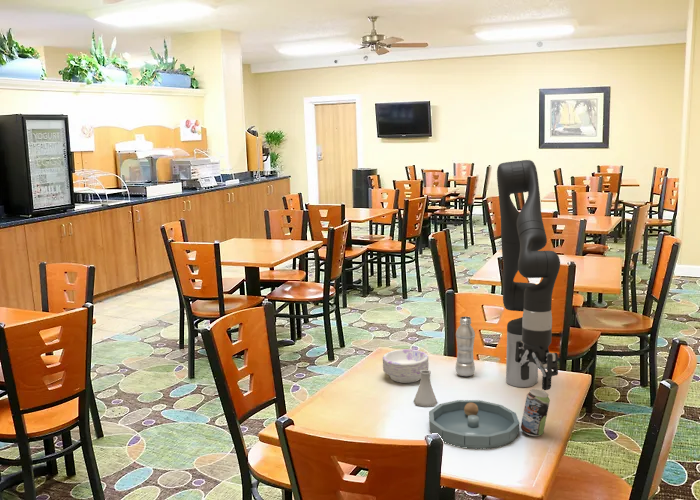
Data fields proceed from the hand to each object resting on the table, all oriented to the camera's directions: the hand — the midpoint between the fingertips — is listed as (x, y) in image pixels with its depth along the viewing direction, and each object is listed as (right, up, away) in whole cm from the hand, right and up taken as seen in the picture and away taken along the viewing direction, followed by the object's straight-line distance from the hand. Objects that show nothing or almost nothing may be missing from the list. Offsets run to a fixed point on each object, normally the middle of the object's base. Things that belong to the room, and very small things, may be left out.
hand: (535, 384), depth 180 cm
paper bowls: (-31, -7, +46) cm, 56 cm away
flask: (-27, -11, +25) cm, 38 cm away
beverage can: (0, -14, +2) cm, 14 cm away
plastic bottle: (-11, -7, +47) cm, 49 cm away
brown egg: (-15, -12, +12) cm, 22 cm away
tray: (-16, -14, +6) cm, 22 cm away
